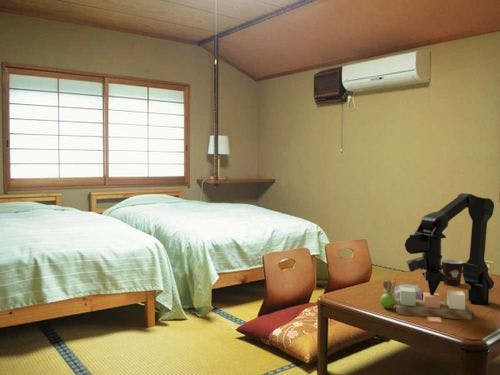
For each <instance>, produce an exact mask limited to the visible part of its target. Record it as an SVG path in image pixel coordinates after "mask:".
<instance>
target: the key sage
mask: <svg viewBox="0 0 500 375" xmlns="http://www.w3.org/2000/svg"><path fill="white" fill-rule="evenodd" d="M400 303H401V305H410V306H416V291H415V288H404V287H400Z"/></svg>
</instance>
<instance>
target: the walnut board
mask: <svg viewBox="0 0 500 375" xmlns="http://www.w3.org/2000/svg"><path fill="white" fill-rule="evenodd" d="M395 299H396V303H395V305H394V307H395V311H396V312H395V313H396V314H397V315H406V316H407V315H408V316H417V317H419V316H420V317H438V318H441V319H455V320H456V319H457V320H469V321H472V319H473V318H472V317H473V315H472V313H473V312H472V311H471V309H470V308H469V307H468V305H467V304H466V302H465V310H462V309H449V307H448V305H447V301H442V300H440V308H433V307H424V306H423V299H422V300H417V299H416V306H410V305H401V303H400V298H397V297H395Z"/></svg>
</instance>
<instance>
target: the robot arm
mask: <svg viewBox="0 0 500 375" xmlns="http://www.w3.org/2000/svg"><path fill="white" fill-rule="evenodd" d="M465 209H468V215H469V217H470V219H471V221H472V222H471V233H470V235H471V236H470V245H469V246H470V247H469V258H468V260H467V261H466V262H463V268H462V277H463V280H464V284H465V285H468V288H467V291H466V297H467V300H468V302H469V303H470V304H472V305H473V304H474V305H487V306H489V305H490V304H491V303H490V302H489V299H490V298H489V297H490V292H489V291H490V290H492V289H493V288H494V285H495V282H494V280H493V279H492V277H490V275H489V267H488V265H487V263H486V261H485V255H486V254H485V253H486V243H487V242H486V241H487V230H488V222H489V220H490V219H491V218H492V216H493V214H494V209H495V202H494V201H493V200H492V199H491V198H489V197H488V198H487V197H481V196H480V197H479V196H476V195H475V194H472V193H460V194H458V195H457V197H455V198H454V199H452V201H450V202H449V203H447V204H446V205H445V206H443V207H442V208H440V209H439V210H438V211H437V210H436V211H434V212H430V213H428V214H426V215H424V216H423V217H422V218H421V220H420V222H419V224H418V226H417V227H416V230H415V232H414V233H409V237H408V238H406V240H405V243H404V247H405V250H406V252H407V253H409V254H410V255H415V254H421V255H422V256H420V257H416V258H415V257H414V258H413V259H409V260H407V261H406V264H407V268H408V270H409V272H411V273H412V272H414V271H417V270H421V271H423V270H424V272H422V276H423V278H424V280H425V281H427V287H428V290H429V292H428V293H430V295H434V293H436V291H437V289H438V287H439V285H440V283H441V282H443V283H444V281H445V275H444V273H443V270H442V267H441V265H442V260H443V256H442V239H446V238H447V237H446V235H445V234H444V233H443V232H444V231H445V230H446V229H447V227H448V226H449V222H450V221H451V220H453V218H456V216H457V215H459V214H460V213H461V212H462V211H464V210H465Z"/></svg>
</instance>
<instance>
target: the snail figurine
mask: <svg viewBox="0 0 500 375" xmlns="http://www.w3.org/2000/svg"><path fill="white" fill-rule="evenodd" d="M396 280H397V278H396V277H393V278H392V281H391V280H390V279H384V280H383V283H382V285H383V288H382V290H383V292H384V293H383V294H382V295H381V296H380V299H379V303H380V305H381V306H382V307H383V308H384V309H392V308H394V307H395V303H396V299H395V298H396V296H394V295H393V293H395V286H396V284H397V283H396Z"/></svg>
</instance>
